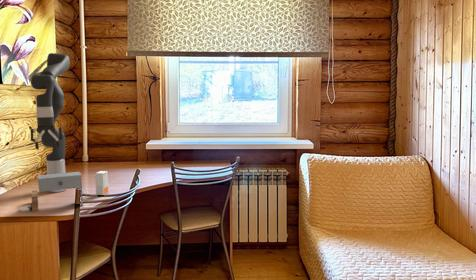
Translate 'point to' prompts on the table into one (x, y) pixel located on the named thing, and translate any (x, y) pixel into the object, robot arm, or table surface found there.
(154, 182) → the table surface
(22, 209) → the silver rounded piece
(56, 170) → the robot arm
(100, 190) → the skincare box
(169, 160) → the table surface
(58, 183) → the low cabinet
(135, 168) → the table surface
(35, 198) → the copper bar
